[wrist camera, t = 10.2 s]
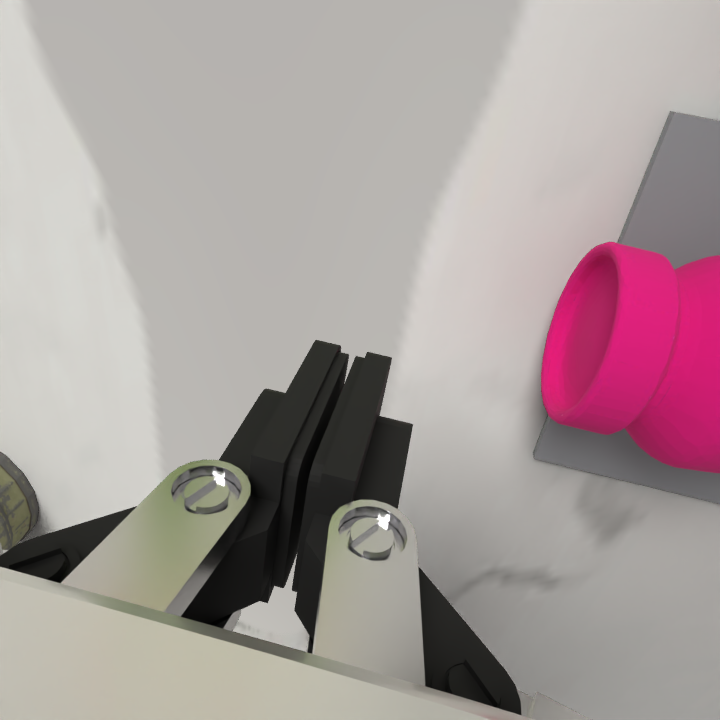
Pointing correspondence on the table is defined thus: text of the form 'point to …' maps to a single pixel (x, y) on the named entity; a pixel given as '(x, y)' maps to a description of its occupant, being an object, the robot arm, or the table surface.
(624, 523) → the table surface
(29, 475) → the table surface
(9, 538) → the thermos
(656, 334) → the pepper mill
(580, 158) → the table surface
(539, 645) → the table surface
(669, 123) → the mat
